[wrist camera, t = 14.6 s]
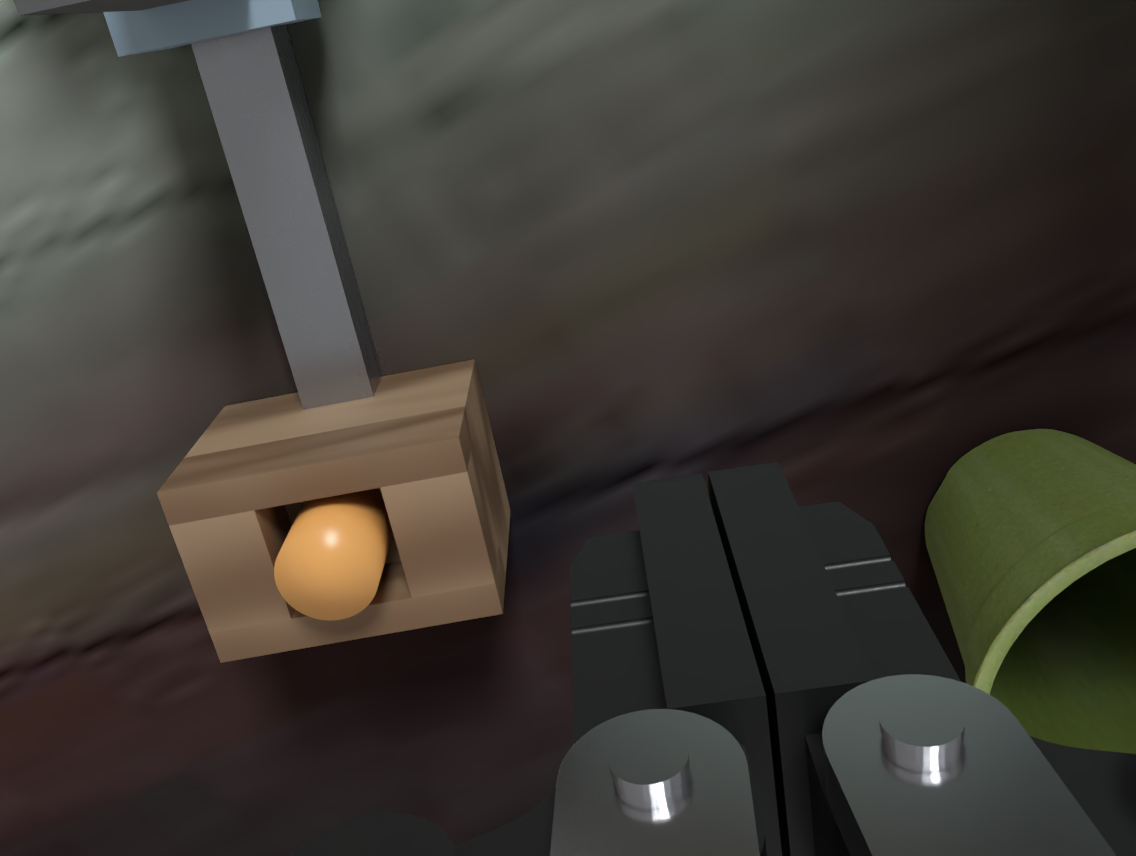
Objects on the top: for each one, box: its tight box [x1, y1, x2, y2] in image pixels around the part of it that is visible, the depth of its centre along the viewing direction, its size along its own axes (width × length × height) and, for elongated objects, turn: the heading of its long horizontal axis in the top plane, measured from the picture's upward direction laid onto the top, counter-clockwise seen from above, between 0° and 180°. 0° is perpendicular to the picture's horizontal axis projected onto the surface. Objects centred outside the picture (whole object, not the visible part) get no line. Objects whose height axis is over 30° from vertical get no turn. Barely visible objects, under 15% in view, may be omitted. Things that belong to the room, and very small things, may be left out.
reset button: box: [274, 488, 393, 620], centre depth 32 cm, size 3×3×4 cm
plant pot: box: [925, 429, 1136, 754], centre depth 34 cm, size 12×12×11 cm
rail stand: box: [157, 24, 510, 663], centre depth 31 cm, size 28×9×7 cm, turn 11°
